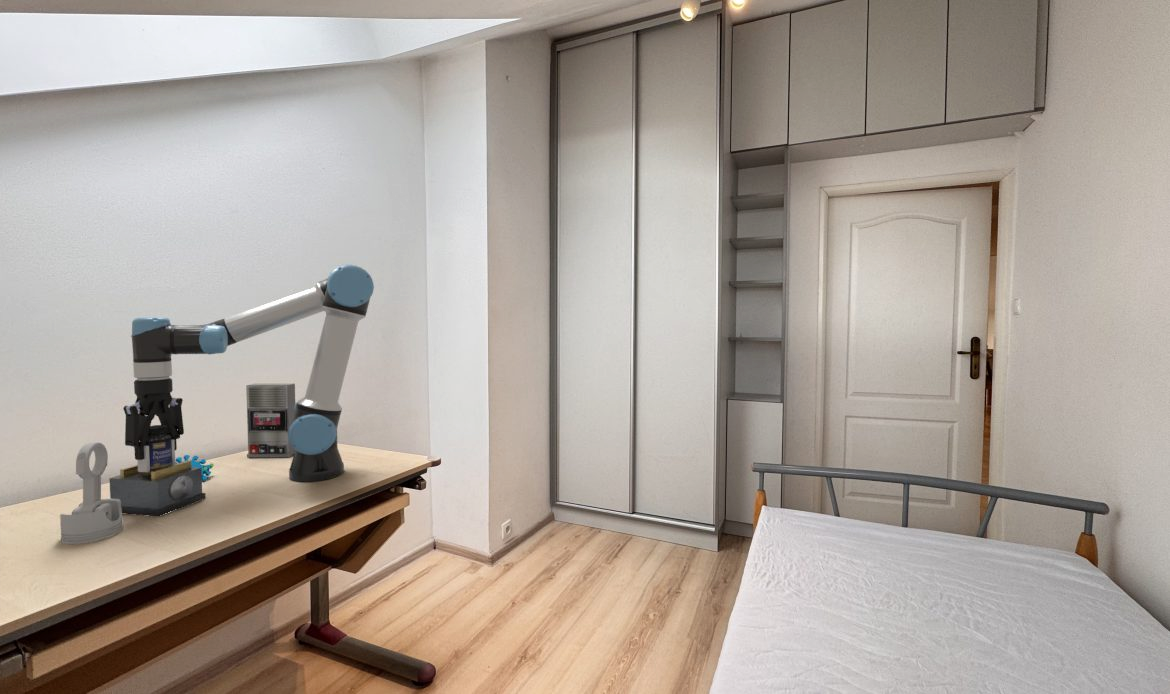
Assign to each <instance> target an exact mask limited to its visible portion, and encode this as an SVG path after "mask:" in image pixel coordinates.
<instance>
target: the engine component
mask: <svg viewBox="0 0 1170 694" xmlns="http://www.w3.org/2000/svg"><path fill="white" fill-rule="evenodd" d="M93 453H94V457H95V458H94V459H95V461H94V466H93V467H92V469H91V467H90V458H91V455H92V454H93ZM75 459H76V460H75V474H76V475H77V476H79V478H80V479H82V502H81V503H79V504H78V506H76V508H74V509H72V511H71V514H66V513H61V514H60V515H59V516H60V517H59V518H60V522H59V523H60V525H59V526H60V538H61V539H60V541H61V543H62V544H64V545H81V543H83V544H87V543H88V542H89V543H94V542H98V541H97V540H99V541H102V540H105V539H104V538H106V539H108V538H107V537H109V538H111V537H114V536H116V535H117V533H118V534H120V533H121V532H122V531H123V530H124V529H123V514H122V509H121V501H120V500H119V499H110V498H102V475H103V474H104V472H105V470H106V469H107V467H108V460H109V458H108V451H107V448H106V446H105V444H104V443H102V442H88V443H85V444H84V445H82V446H81V448H80V449H79V450H78V453H77V455H76V458H75ZM122 529H123V530H122ZM121 530H122V531H121ZM120 531H121V532H120ZM119 532H120V533H119ZM115 534H116V535H115ZM113 535H114V536H113ZM110 536H111V537H110ZM101 539H102V540H101ZM93 541H94V542H93ZM89 543H88V544H89Z"/></svg>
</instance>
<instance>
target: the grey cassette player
mask: <svg viewBox="0 0 1170 694" xmlns="http://www.w3.org/2000/svg"><path fill="white" fill-rule="evenodd" d="M245 391H246V422H247V424H246V425H247V448H248V449H247V450H248V453H247V454H246V457H247V458H249V457H253V458H287V457H288V458H290V457H292V456H294V455H293V454H295V449H294V448H293V447H292V445H291V444H290V441H289V438H288V437H289V436H288V430H289V428H290V426H291V424H292V421H293V417H294V411H293V410H294V405H295V403H296V385H295V383H291V382H290V383H282V382H281V383H276V382H275V383H259V382H258V383H252V384H247V385H246V390H245Z"/></svg>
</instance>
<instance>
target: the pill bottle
mask: <svg viewBox="0 0 1170 694" xmlns="http://www.w3.org/2000/svg"><path fill="white" fill-rule="evenodd" d="M166 431H167V425H161V424H157V425H156V424H155V425H150V429H149V433H148V437H147V441H146V445H145V446H149V458H150V472H152V471H155V470H158V469H162V468H165V467H168V466H172V455H171V437H170V435H168V434H166Z"/></svg>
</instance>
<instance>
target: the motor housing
mask: <svg viewBox="0 0 1170 694" xmlns="http://www.w3.org/2000/svg"><path fill="white" fill-rule="evenodd" d="M119 471H120V473H119V474H120V475H116V476H112V477H109V478H108V479H109V496H110V498H109V499H119V500H120V501H121V509H122V513H126V514H125V515H132V514H136V515H135V516H144V515H149V516H148V517H155V516H160V515H162V516H164V515H163V514H165V513H167V514H169V513H168V512H170V511H173V510H175V509H178V510H179V508H180V509H182V507H183V508H185V507H187V505H188V506H189V505H190V506H191V505H192V503H193V504H195V503H197V501H198V502H200V501H203V500H206V499H205V498H207V496H206V492H203V481H202V472H201V468H199V467H191V460H189V461H185V460H184V461H182V463H178V462H177V464H175V465H172V466H168V467H165V468H162V469H158V470H155V471H152V472H138V464H135V465H131V466H129V467H125V468H121V469H119ZM202 499H203V500H202ZM184 506H185V507H184ZM175 511H176V510H175ZM173 512H174V511H173ZM170 513H171V512H170ZM165 515H166V514H165ZM160 517H161V516H160Z"/></svg>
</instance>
